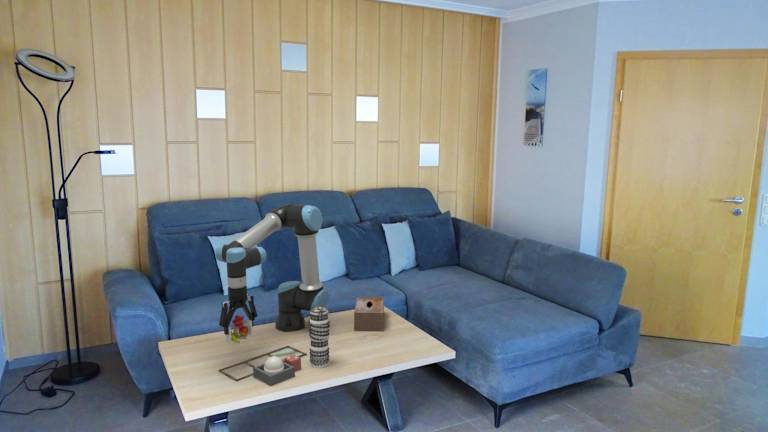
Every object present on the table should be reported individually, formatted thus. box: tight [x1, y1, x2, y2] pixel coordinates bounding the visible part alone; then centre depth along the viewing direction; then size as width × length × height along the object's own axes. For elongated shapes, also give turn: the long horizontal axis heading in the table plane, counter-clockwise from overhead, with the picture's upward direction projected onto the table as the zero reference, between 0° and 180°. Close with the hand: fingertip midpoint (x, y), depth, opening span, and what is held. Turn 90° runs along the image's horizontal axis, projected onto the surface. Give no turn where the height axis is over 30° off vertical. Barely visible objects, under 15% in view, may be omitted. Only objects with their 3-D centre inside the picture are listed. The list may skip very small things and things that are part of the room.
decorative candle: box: [307, 306, 331, 369], centre depth 237 cm, size 9×9×25 cm
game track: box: [218, 345, 308, 382], centre depth 239 cm, size 14×36×1 cm, turn 137°
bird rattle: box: [231, 315, 250, 344], centre depth 228 cm, size 6×11×9 cm
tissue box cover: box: [353, 296, 385, 333], centre depth 289 cm, size 26×14×10 cm, turn 179°
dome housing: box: [252, 355, 302, 387], centre depth 228 cm, size 12×18×6 cm, turn 137°
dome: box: [264, 356, 284, 375], centre depth 226 cm, size 8×8×8 cm
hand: (239, 338), depth 228 cm, fingers closed on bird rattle, 9 cm apart
